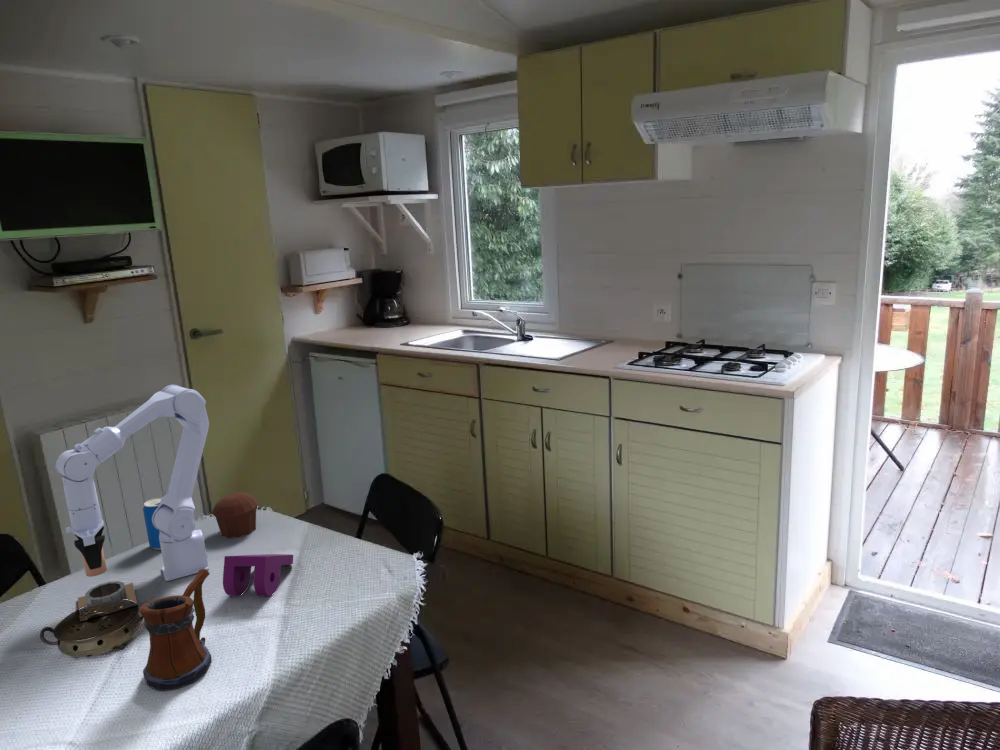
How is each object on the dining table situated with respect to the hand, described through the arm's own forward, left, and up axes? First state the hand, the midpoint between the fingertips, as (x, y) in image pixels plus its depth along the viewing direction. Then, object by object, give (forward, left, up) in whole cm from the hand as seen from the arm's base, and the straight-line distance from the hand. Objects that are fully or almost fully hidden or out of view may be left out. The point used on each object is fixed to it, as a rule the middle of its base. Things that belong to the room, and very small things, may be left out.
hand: (95, 563), depth 156 cm
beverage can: (-15, -23, -10) cm, 29 cm away
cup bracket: (-1, +1, -9) cm, 9 cm away
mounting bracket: (-32, +12, -10) cm, 36 cm away
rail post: (0, 0, -2) cm, 2 cm away
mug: (-13, +35, -10) cm, 38 cm away
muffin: (-33, -20, -10) cm, 40 cm away
